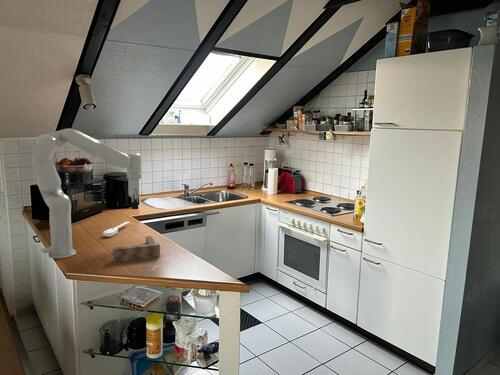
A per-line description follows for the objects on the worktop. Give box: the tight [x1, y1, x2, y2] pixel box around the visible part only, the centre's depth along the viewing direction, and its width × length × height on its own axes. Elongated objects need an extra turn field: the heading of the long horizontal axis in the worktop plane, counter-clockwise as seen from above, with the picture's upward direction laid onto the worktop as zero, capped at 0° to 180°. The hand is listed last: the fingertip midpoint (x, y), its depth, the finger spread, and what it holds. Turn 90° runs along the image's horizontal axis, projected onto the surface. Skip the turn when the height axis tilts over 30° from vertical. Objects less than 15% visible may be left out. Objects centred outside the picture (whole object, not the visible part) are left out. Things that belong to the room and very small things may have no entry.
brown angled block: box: [112, 235, 161, 263], centre depth 201 cm, size 22×26×6 cm
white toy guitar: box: [102, 221, 130, 238], centre depth 236 cm, size 28×6×3 cm, turn 170°
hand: (134, 208), depth 215 cm, fingers closed
